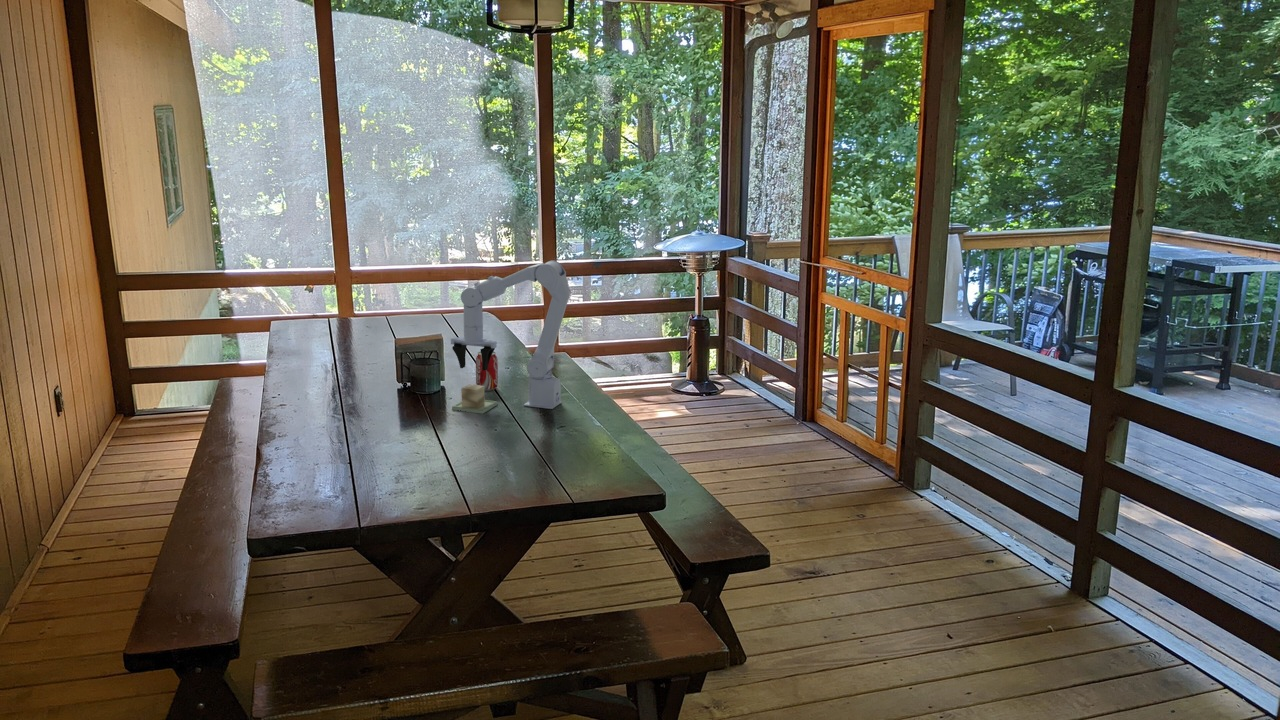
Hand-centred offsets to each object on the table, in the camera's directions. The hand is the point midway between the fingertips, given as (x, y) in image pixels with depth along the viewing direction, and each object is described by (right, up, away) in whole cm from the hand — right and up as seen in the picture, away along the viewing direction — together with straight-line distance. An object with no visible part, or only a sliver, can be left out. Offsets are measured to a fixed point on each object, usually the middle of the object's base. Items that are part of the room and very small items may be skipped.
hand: (473, 368), depth 287 cm
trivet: (+1, -12, -6) cm, 13 cm away
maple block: (+1, -11, -8) cm, 14 cm away
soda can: (+2, -7, +15) cm, 17 cm away
